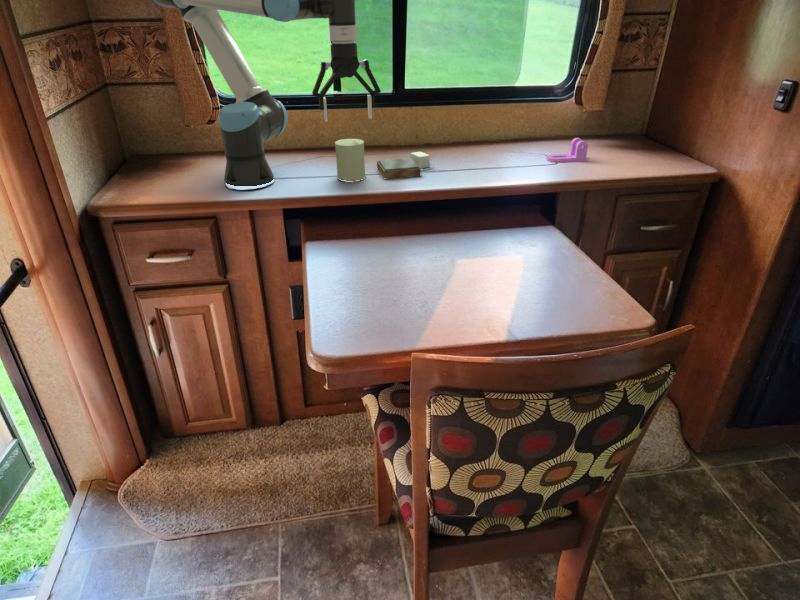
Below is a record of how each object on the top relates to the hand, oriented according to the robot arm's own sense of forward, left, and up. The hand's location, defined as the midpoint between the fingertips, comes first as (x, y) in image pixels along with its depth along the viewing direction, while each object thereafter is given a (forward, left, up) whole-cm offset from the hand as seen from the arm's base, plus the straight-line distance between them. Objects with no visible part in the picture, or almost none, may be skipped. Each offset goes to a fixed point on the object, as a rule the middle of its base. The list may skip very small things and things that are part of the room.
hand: (348, 119), depth 158 cm
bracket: (+76, +1, -19) cm, 78 cm away
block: (+25, +8, -18) cm, 32 cm away
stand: (+16, +2, -18) cm, 24 cm away
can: (0, 0, -18) cm, 19 cm away
